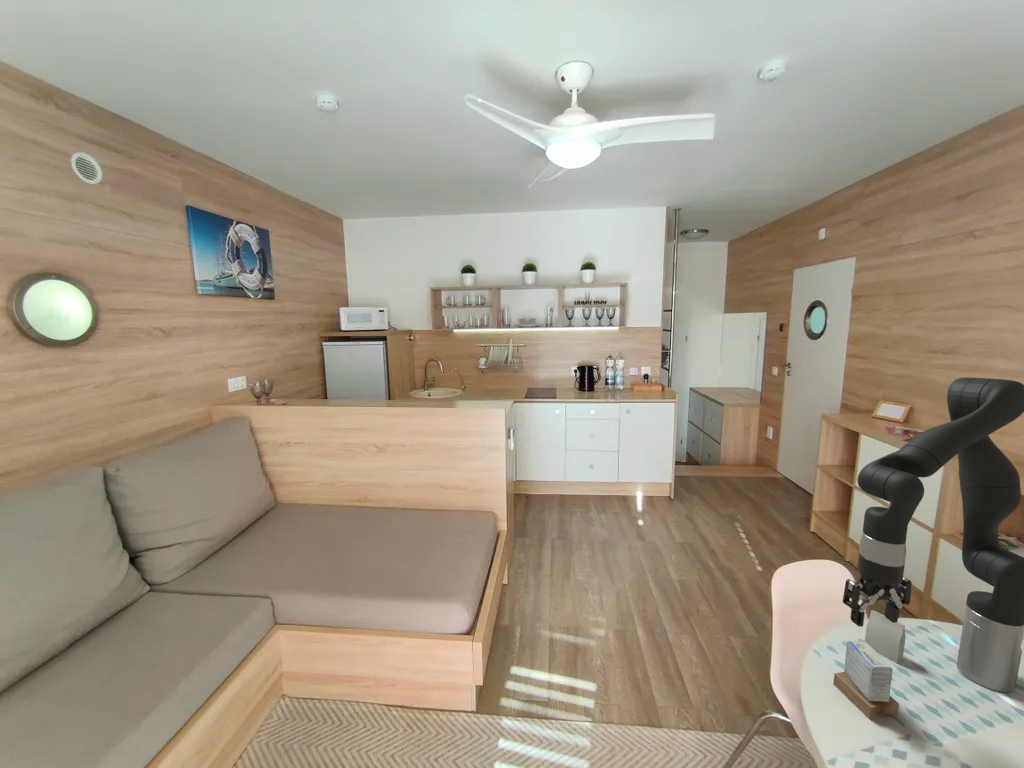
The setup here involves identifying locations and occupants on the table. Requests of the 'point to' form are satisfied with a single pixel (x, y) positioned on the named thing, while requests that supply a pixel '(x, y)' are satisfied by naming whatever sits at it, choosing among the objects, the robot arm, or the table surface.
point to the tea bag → (885, 636)
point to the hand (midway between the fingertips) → (873, 622)
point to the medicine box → (868, 671)
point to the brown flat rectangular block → (865, 699)
